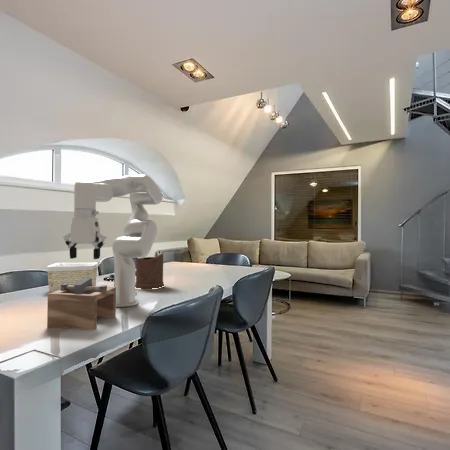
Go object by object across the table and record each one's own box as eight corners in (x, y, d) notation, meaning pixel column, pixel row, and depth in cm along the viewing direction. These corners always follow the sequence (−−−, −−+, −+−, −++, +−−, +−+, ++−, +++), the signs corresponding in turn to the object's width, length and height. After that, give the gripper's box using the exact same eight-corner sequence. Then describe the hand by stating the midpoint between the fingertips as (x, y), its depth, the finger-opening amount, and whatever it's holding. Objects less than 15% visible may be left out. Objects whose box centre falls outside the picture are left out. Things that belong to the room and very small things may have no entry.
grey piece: (87, 297, 125) (85, 277, 123) (93, 297, 124) (91, 277, 123) (75, 305, 117) (74, 284, 116) (81, 305, 117) (80, 285, 115)
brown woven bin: (161, 290, 179) (162, 246, 179) (119, 289, 180) (120, 246, 180) (167, 284, 198) (168, 244, 198) (130, 283, 198) (130, 244, 198)
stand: (74, 314, 129) (75, 280, 129) (115, 316, 126) (116, 282, 127) (47, 326, 113) (47, 288, 113) (93, 329, 111) (94, 290, 111)
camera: (108, 279, 214) (109, 273, 214) (120, 280, 209) (120, 274, 209) (103, 280, 209) (103, 274, 209) (114, 282, 205) (114, 275, 205)
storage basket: (44, 293, 168) (45, 265, 168) (55, 287, 184) (56, 262, 184) (92, 292, 173) (92, 265, 173) (98, 286, 189) (98, 261, 189)
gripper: (111, 214, 123) (110, 258, 123) (70, 214, 125) (70, 256, 125) (100, 213, 115) (100, 260, 115) (57, 213, 118) (57, 259, 118)
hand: (84, 258), depth 120 cm, fingers open, 9 cm apart
